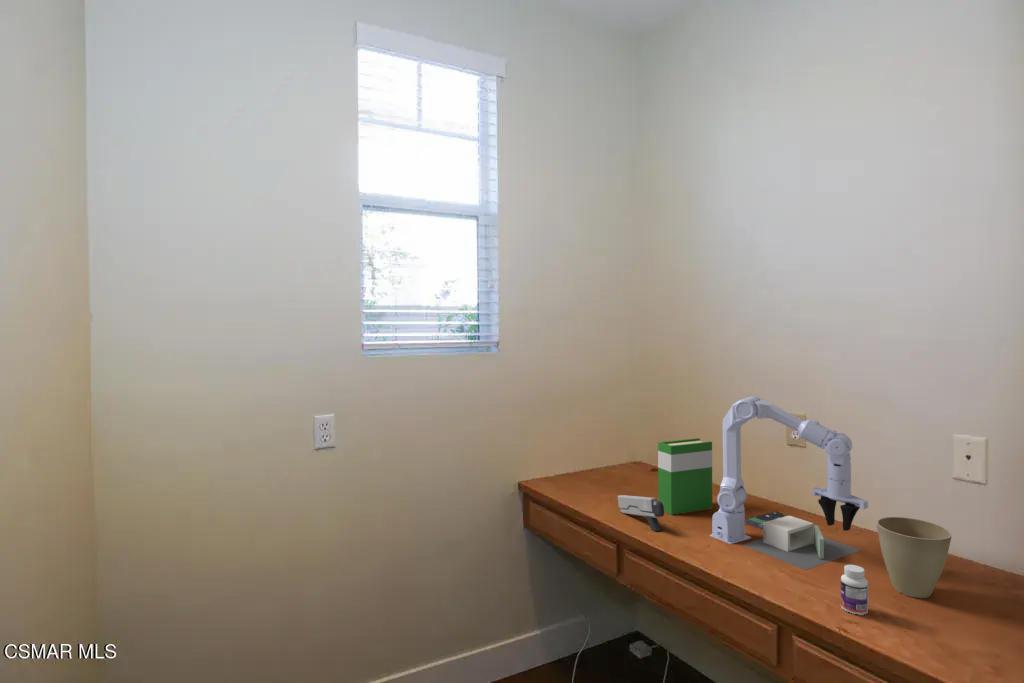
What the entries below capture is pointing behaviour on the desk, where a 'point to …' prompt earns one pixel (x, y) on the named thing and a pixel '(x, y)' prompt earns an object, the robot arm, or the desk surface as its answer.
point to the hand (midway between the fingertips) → (838, 527)
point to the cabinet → (788, 533)
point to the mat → (804, 553)
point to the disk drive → (763, 519)
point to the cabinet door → (819, 542)
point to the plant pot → (913, 553)
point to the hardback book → (685, 475)
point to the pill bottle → (854, 590)
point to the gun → (642, 508)
